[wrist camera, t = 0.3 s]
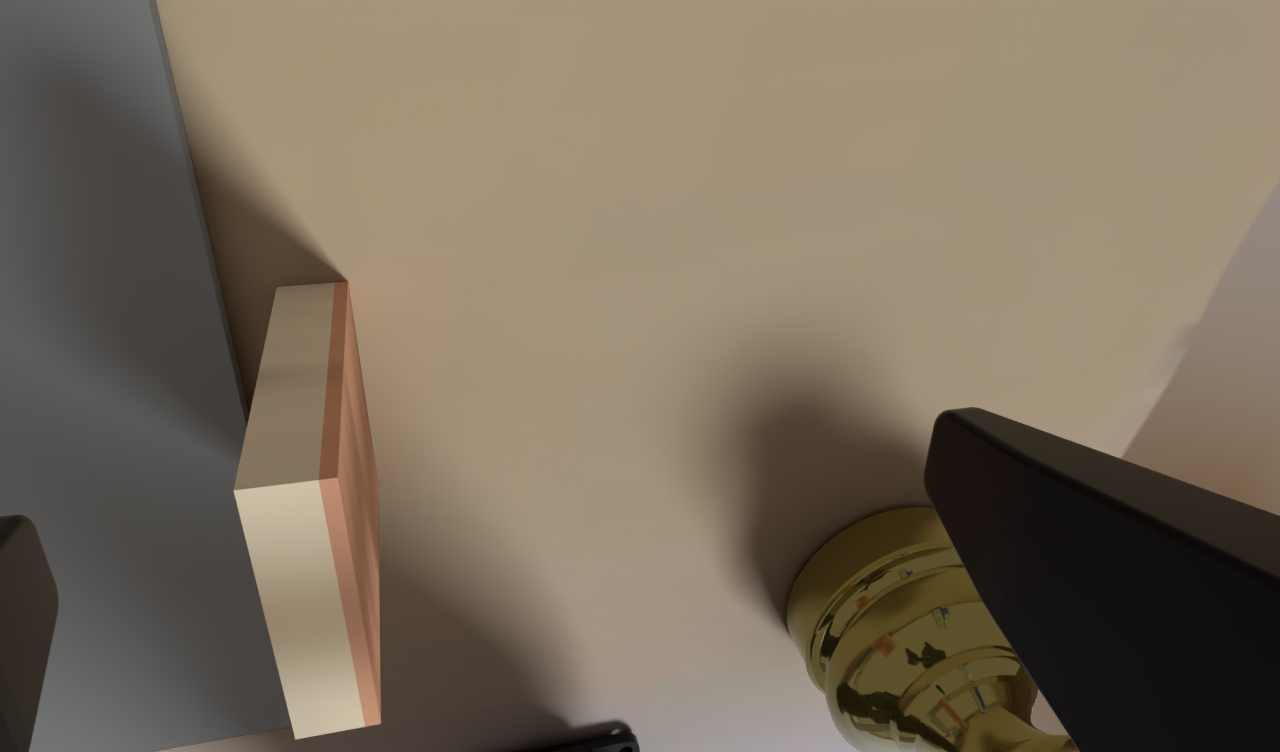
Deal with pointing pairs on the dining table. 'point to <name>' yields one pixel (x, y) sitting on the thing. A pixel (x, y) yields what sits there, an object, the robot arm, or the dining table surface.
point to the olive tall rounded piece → (910, 644)
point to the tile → (315, 511)
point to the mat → (122, 392)
